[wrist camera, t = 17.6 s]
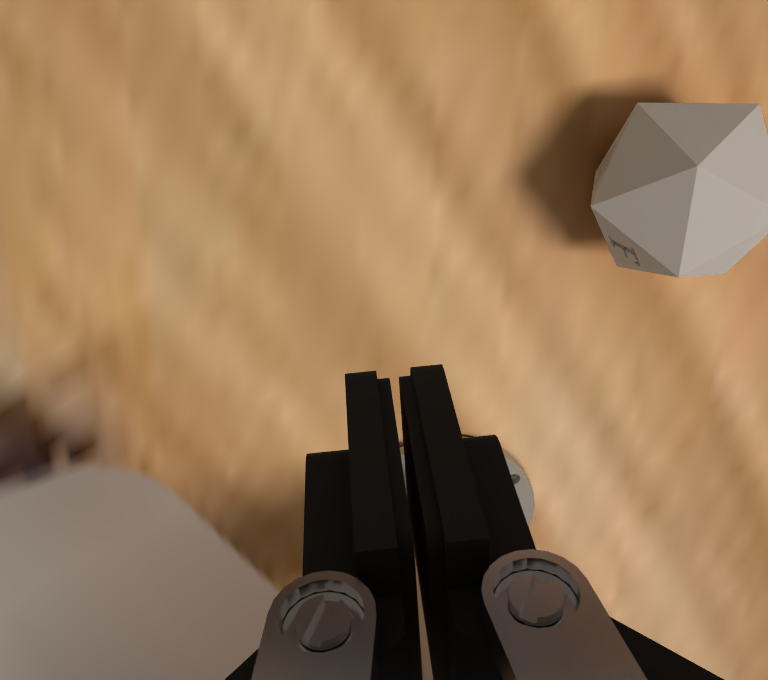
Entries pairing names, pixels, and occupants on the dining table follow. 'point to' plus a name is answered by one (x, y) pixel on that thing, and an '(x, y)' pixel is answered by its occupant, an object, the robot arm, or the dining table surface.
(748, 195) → the die
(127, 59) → the dining table surface
